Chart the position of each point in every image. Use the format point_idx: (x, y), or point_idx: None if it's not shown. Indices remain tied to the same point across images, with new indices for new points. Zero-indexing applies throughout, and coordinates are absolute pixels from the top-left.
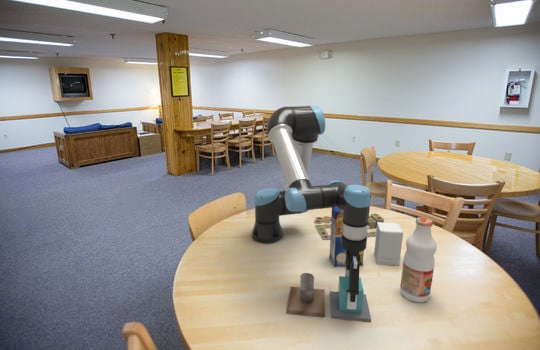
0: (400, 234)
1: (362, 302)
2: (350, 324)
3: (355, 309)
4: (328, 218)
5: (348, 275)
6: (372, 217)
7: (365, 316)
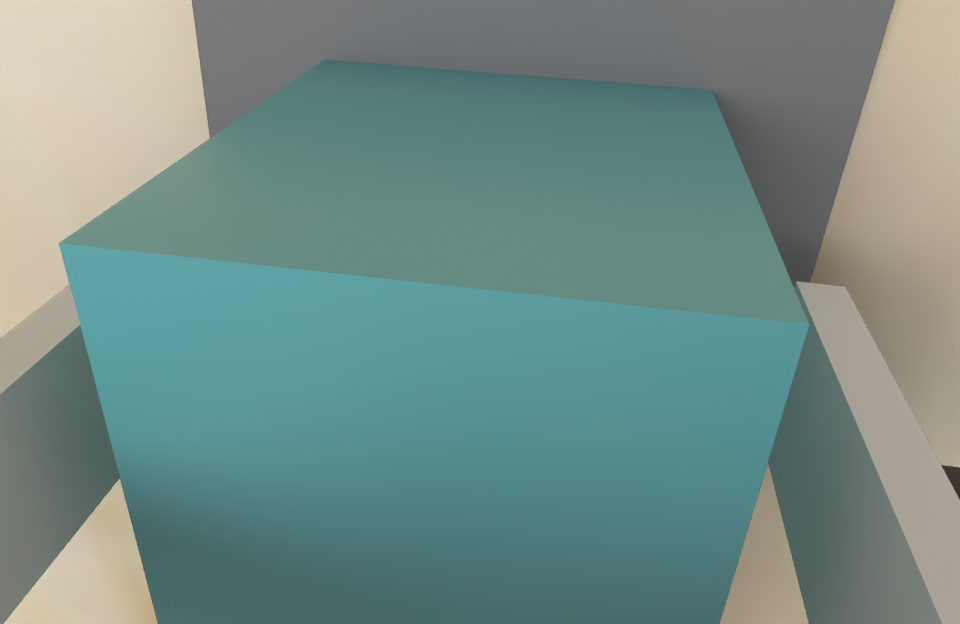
0: None
1: (737, 167)
2: (888, 284)
3: (843, 298)
4: None
5: (47, 484)
6: None
7: (815, 44)
